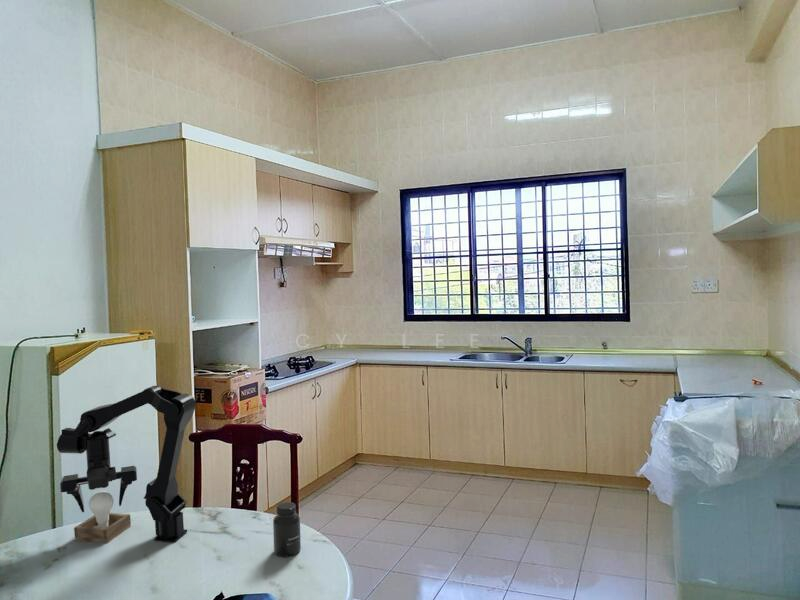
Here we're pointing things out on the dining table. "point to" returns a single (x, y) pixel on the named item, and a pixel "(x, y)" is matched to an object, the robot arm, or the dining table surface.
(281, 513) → the supplement bottle
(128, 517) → the brown square tray
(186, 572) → the dining table surface
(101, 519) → the lightbulb
